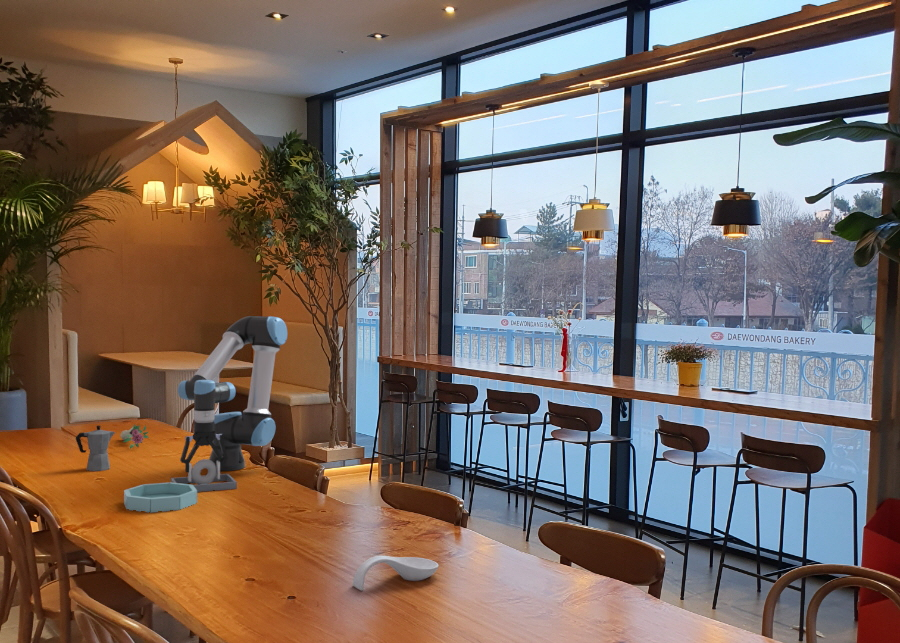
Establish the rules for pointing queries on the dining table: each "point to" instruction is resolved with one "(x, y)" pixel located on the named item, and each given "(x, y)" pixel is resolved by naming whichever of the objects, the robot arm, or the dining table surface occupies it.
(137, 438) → the flower vase
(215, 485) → the grey rectangular frame
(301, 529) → the dining table surface
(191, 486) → the bowl
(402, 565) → the spoon rest
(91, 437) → the coffeepot
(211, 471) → the donut
